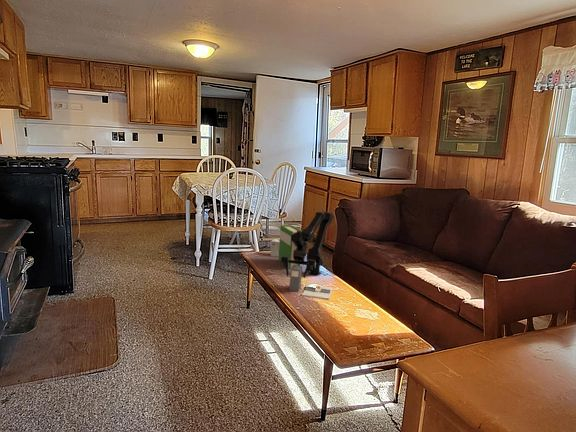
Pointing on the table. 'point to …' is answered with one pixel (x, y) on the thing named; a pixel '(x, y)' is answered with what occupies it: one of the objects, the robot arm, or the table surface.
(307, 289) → the din rail
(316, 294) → the board
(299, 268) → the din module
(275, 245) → the light bulb box
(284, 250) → the hardback book
